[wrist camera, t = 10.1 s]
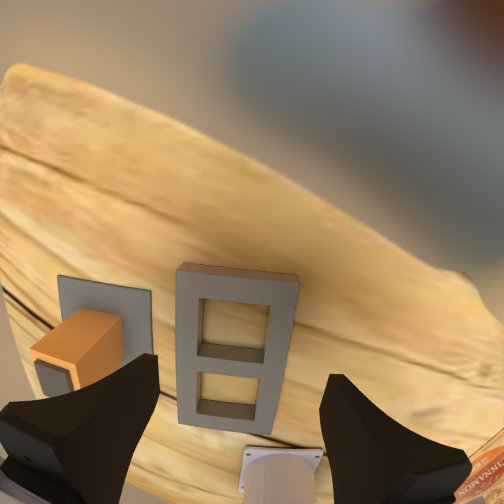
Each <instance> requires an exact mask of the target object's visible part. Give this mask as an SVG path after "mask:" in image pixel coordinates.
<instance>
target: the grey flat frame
mask: <svg viewBox="0 0 504 504" xmlns="http://www.w3.org/2000/svg"><path fill="white" fill-rule="evenodd" d="M298 290H299V282H298V279H297V276H296V275H291V274H282V273H272V272H262V271H253V270H244V269H235V268H226V267H217V266H208V265H199V264H190V263H183V264H182V265H181V266H180V267H179V268H178V269H177V270H176V304H175V347H176V386H177V407H178V423H179V424H184V425H190V426H196V427H202V428H209V429H216V430H223V431H232V432H241V433H252V434H265V435H271V432H272V428H273V423H274V419H275V414H276V409H277V405H278V400H279V395H280V390H281V385H282V380H283V375H284V370H285V365H286V359H287V354H288V349H289V343H290V337H291V332H292V326H293V320H294V314H295V308H296V302H297V296H298ZM204 299H212V300H220V301H229V302H237V303H246V304H256V305H265V306H269V312H268V319H267V327H266V334H265V341H264V348H263V350H260V349H250V348H241V347H232V346H224V345H216V344H208V343H202V324H203V303H204ZM201 372H206V373H213V374H221V375H229V376H237V377H247V378H257V379H259V383H258V389H257V396H256V402H255V406H254V405H244V404H234V403H226V402H218V401H211V400H204V399H200V396H201Z"/></svg>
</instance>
